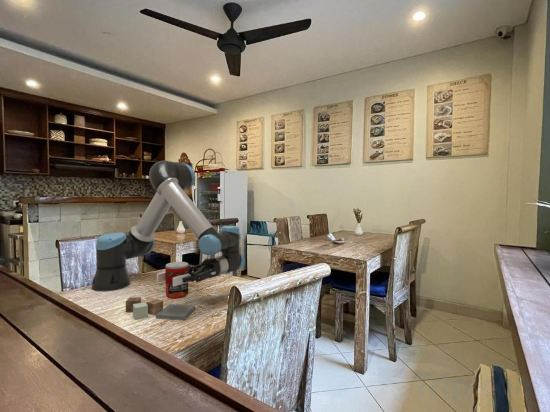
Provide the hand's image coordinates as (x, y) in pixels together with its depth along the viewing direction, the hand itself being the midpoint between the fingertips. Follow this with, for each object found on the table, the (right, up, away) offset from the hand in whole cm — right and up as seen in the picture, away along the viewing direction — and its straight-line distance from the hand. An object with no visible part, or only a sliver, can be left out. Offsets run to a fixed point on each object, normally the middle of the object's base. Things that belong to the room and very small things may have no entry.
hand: (165, 280), depth 100 cm
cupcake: (-12, -11, +46) cm, 49 cm away
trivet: (+2, -13, +4) cm, 14 cm away
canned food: (+3, -7, +4) cm, 8 cm away
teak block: (-6, -13, +5) cm, 15 cm away
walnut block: (-14, -13, +7) cm, 20 cm away
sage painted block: (-9, -13, +2) cm, 16 cm away
